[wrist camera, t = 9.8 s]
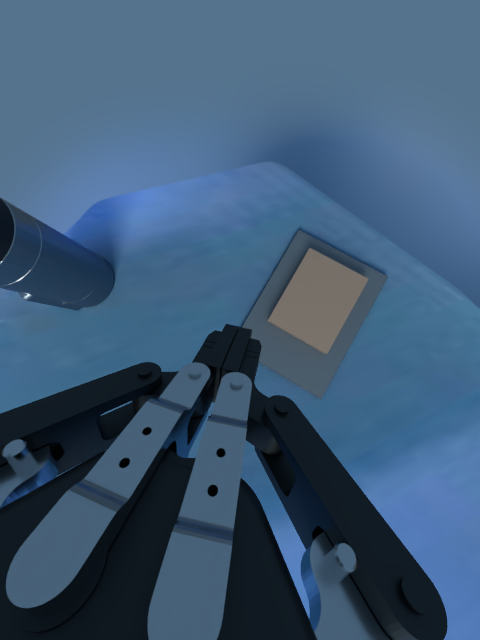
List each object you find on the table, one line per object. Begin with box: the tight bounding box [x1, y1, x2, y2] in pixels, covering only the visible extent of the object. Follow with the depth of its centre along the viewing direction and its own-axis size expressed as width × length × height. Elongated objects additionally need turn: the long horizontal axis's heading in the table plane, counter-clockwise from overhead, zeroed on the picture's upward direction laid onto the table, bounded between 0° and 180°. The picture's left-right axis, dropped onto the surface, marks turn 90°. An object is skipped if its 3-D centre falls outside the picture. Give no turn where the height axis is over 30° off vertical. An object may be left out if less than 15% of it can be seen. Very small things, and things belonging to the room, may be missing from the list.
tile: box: [267, 248, 369, 354], centre depth 37 cm, size 2×10×13 cm
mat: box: [242, 230, 388, 399], centre depth 38 cm, size 22×16×1 cm
